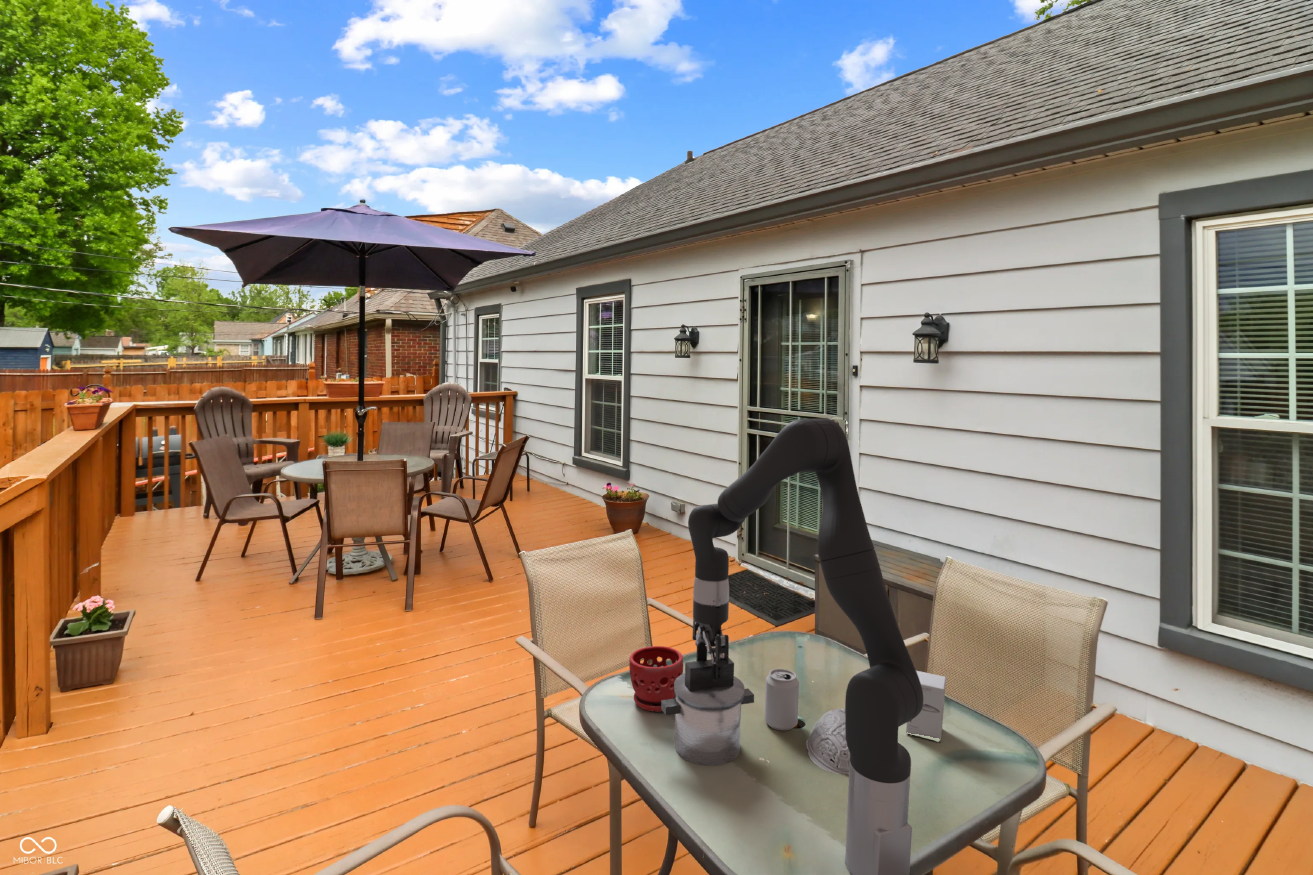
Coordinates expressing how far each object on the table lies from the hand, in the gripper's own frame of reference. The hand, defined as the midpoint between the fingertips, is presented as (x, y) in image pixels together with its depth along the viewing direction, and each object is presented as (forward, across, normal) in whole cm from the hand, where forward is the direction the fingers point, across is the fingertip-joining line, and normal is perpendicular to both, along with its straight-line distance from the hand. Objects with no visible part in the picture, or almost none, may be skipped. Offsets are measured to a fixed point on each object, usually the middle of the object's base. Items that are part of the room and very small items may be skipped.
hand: (709, 671), depth 136 cm
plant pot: (+17, -21, -5) cm, 27 cm away
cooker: (+17, 0, 0) cm, 17 cm away
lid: (+5, 0, 0) cm, 5 cm away
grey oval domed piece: (+17, +7, +29) cm, 35 cm away
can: (+17, -4, +20) cm, 26 cm away
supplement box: (+17, +8, +50) cm, 53 cm away
